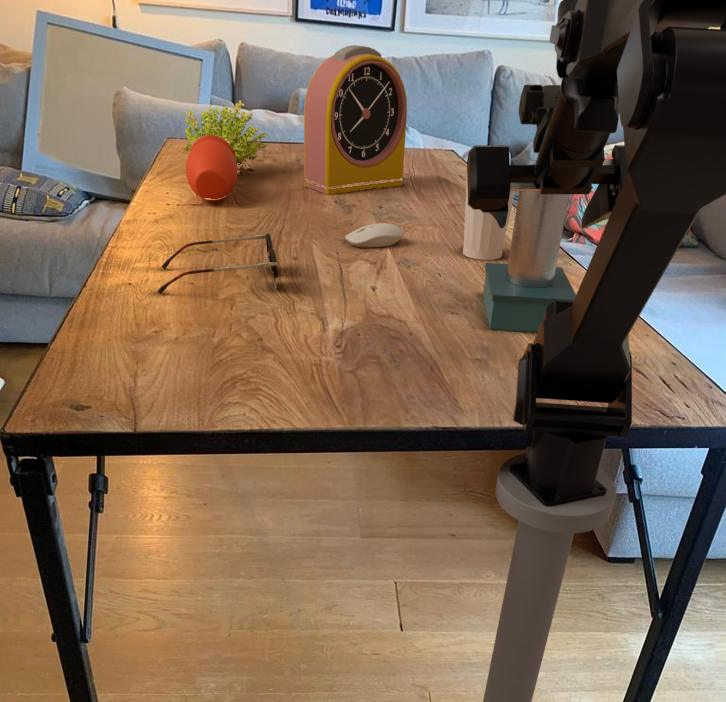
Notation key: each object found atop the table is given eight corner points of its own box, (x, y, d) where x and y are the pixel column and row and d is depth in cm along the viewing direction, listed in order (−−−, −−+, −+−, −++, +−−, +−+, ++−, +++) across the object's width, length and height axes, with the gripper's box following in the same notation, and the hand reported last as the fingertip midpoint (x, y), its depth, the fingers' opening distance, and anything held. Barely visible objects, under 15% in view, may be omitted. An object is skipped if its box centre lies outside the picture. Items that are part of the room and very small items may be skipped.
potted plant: (273, 236, 143) (267, 160, 177) (274, 161, 134) (266, 96, 167) (173, 233, 141) (185, 157, 174) (166, 156, 131) (181, 91, 165)
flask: (533, 291, 90) (553, 175, 83) (496, 278, 94) (512, 166, 87) (562, 282, 94) (584, 170, 86) (525, 270, 98) (543, 162, 90)
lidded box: (575, 335, 91) (582, 300, 88) (488, 329, 91) (493, 294, 89) (558, 299, 102) (564, 267, 99) (481, 294, 102) (485, 262, 100)
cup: (467, 262, 115) (477, 181, 108) (451, 247, 121) (459, 170, 115) (514, 260, 117) (526, 181, 110) (495, 246, 123) (506, 170, 117)
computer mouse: (340, 240, 123) (341, 221, 121) (394, 236, 126) (395, 218, 124) (353, 249, 118) (354, 230, 116) (408, 245, 121) (410, 227, 120)
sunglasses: (280, 295, 99) (276, 258, 96) (158, 304, 96) (151, 267, 94) (272, 264, 110) (269, 230, 107) (163, 272, 108) (157, 238, 105)
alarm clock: (327, 194, 151) (329, 46, 137) (302, 186, 157) (302, 43, 142) (403, 184, 162) (413, 47, 148) (377, 177, 168) (384, 44, 154)
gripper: (674, 52, 69) (620, 162, 84) (476, 53, 69) (458, 162, 84) (685, 154, 66) (627, 249, 81) (479, 155, 67) (459, 248, 82)
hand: (542, 224), depth 82 cm, fingers open, 9 cm apart
